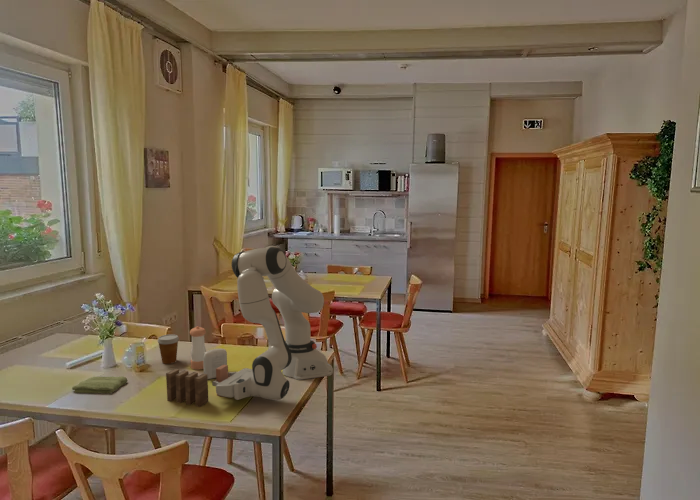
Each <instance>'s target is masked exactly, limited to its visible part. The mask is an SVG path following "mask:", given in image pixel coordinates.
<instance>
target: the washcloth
mask: <svg viewBox="0 0 700 500" xmlns="http://www.w3.org/2000/svg"><path fill="white" fill-rule="evenodd" d="M127 383H128V379H127V377H126V376H124V375H123V376H92V377H89V378H87V379H84V380H82V381H80V382H79V383H77V384H76V385H73V386H72V388H71V389H72V390H73V391H74V393H75V394H112V393H114V392H115V391H117V390H118V389H119V388H120V387H122V386H124V385H126V384H127Z"/></svg>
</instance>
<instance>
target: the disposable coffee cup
mask: <svg viewBox="0 0 700 500" xmlns="http://www.w3.org/2000/svg"><path fill="white" fill-rule="evenodd" d="M179 339H180V338H179V336H178V335H177V334H174V333H173V334H171V333H170V334H164V335H161V336H158V339H157V343H158V347H159V353H160V358H161V362H162V364H165V365H169V364H170V365H171V364H174V363H176V362H177V359H178V358H177V357H178V345H179Z"/></svg>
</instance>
